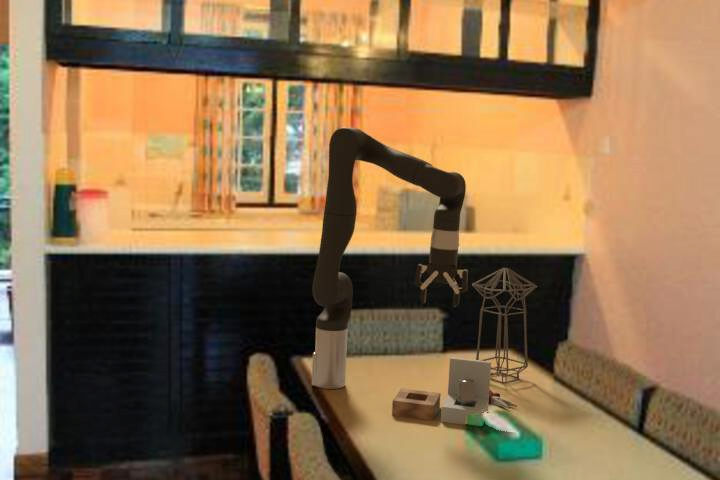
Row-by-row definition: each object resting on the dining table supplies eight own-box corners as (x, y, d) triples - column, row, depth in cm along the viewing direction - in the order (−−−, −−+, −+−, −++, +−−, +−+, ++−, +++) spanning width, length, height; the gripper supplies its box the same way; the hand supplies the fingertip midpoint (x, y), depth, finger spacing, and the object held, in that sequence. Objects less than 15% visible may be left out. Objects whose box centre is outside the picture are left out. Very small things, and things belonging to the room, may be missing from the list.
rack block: (440, 421, 200) (443, 369, 198) (447, 406, 212) (450, 357, 210) (483, 427, 197) (486, 374, 195) (487, 411, 209) (491, 361, 207)
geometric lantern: (503, 388, 230) (508, 273, 227) (465, 376, 242) (469, 266, 239) (537, 380, 240) (542, 269, 236) (498, 368, 252) (502, 263, 249)
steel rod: (455, 418, 202) (458, 382, 201) (457, 414, 206) (460, 377, 205) (470, 420, 201) (473, 383, 200) (472, 416, 205) (475, 379, 204)
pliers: (499, 415, 208) (499, 405, 208) (447, 394, 224) (448, 385, 224) (527, 408, 215) (527, 399, 215) (475, 388, 231) (475, 380, 230)
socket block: (391, 415, 203) (392, 400, 202) (400, 402, 213) (401, 388, 213) (433, 420, 200) (433, 405, 200) (439, 407, 211) (440, 393, 210)
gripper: (415, 244, 206) (410, 304, 208) (468, 250, 202) (463, 310, 204) (421, 241, 213) (416, 298, 215) (472, 247, 209) (466, 305, 211)
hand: (439, 304), depth 210 cm, fingers open, 8 cm apart
